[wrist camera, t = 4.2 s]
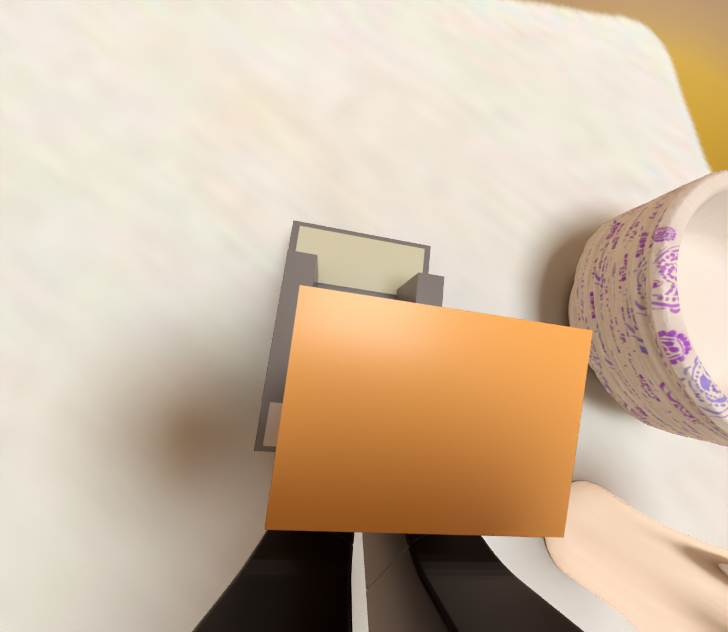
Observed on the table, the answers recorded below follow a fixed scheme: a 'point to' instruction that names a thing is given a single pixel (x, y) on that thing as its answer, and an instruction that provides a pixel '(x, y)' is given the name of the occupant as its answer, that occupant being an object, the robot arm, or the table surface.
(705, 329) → the paper bowls
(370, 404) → the breaker lever
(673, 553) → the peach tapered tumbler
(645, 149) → the table surface
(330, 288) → the breaker block
